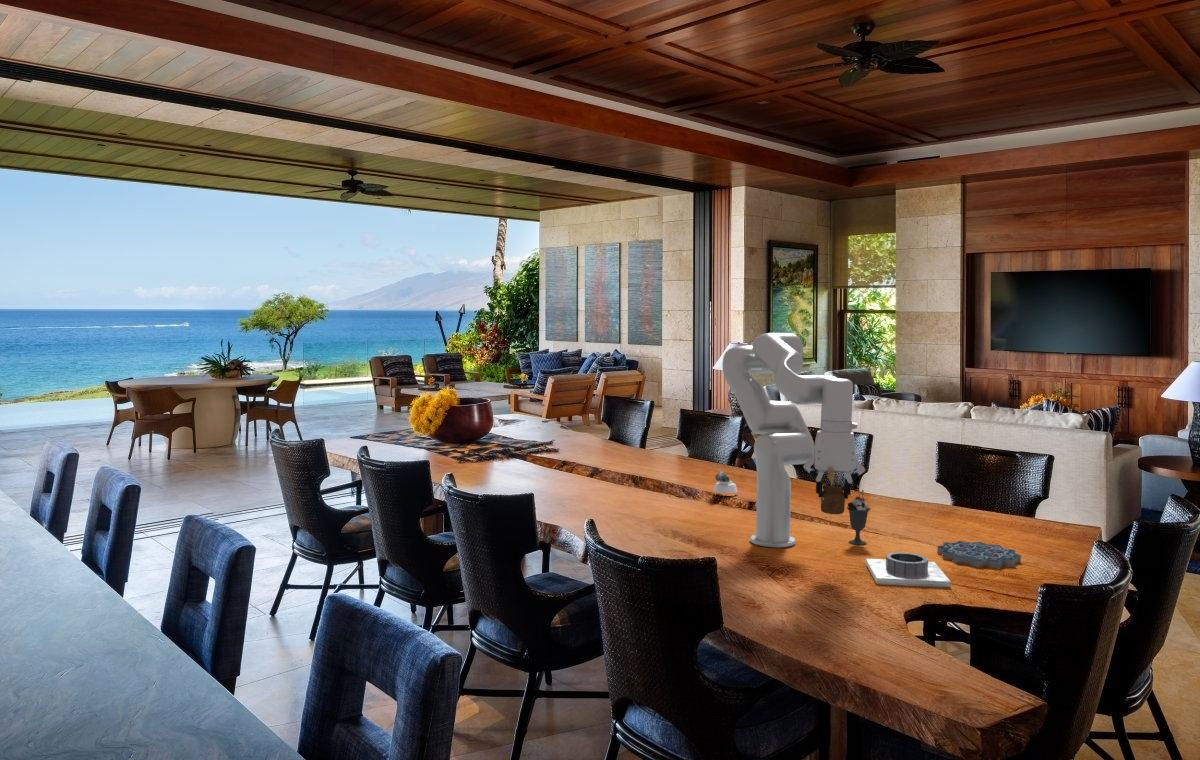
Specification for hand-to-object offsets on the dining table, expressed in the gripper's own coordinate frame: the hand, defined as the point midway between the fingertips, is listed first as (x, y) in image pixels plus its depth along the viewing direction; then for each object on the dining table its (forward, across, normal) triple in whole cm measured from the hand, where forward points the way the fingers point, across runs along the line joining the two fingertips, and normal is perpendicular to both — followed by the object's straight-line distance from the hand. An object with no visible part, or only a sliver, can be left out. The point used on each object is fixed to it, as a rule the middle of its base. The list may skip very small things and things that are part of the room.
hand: (832, 496), depth 217 cm
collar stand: (+18, -18, +4) cm, 26 cm away
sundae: (+19, -11, -26) cm, 34 cm away
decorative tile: (+19, -41, -16) cm, 48 cm away
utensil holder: (+4, 0, 0) cm, 4 cm away
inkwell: (+21, +28, -84) cm, 91 cm away
